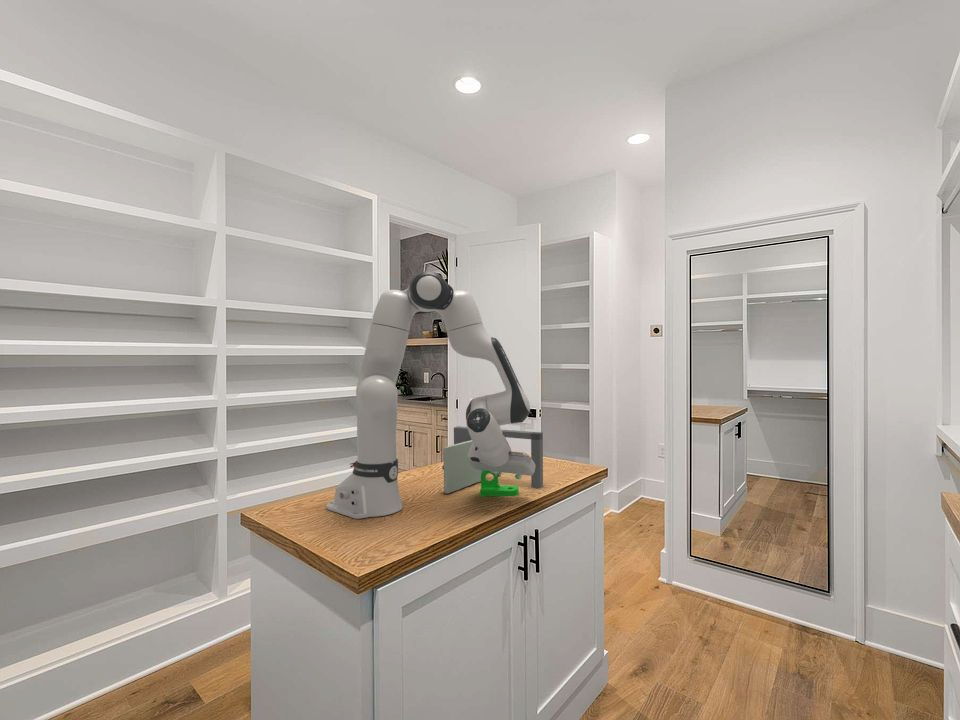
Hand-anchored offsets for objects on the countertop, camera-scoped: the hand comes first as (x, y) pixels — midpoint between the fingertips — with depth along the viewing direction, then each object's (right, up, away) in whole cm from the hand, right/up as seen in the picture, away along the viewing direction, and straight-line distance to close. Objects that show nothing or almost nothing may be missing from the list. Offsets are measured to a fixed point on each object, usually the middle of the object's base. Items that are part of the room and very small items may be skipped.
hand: (509, 476), depth 151 cm
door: (-15, -5, +8) cm, 18 cm away
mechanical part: (-3, -6, +1) cm, 7 cm away
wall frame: (-3, -6, +15) cm, 16 cm away
